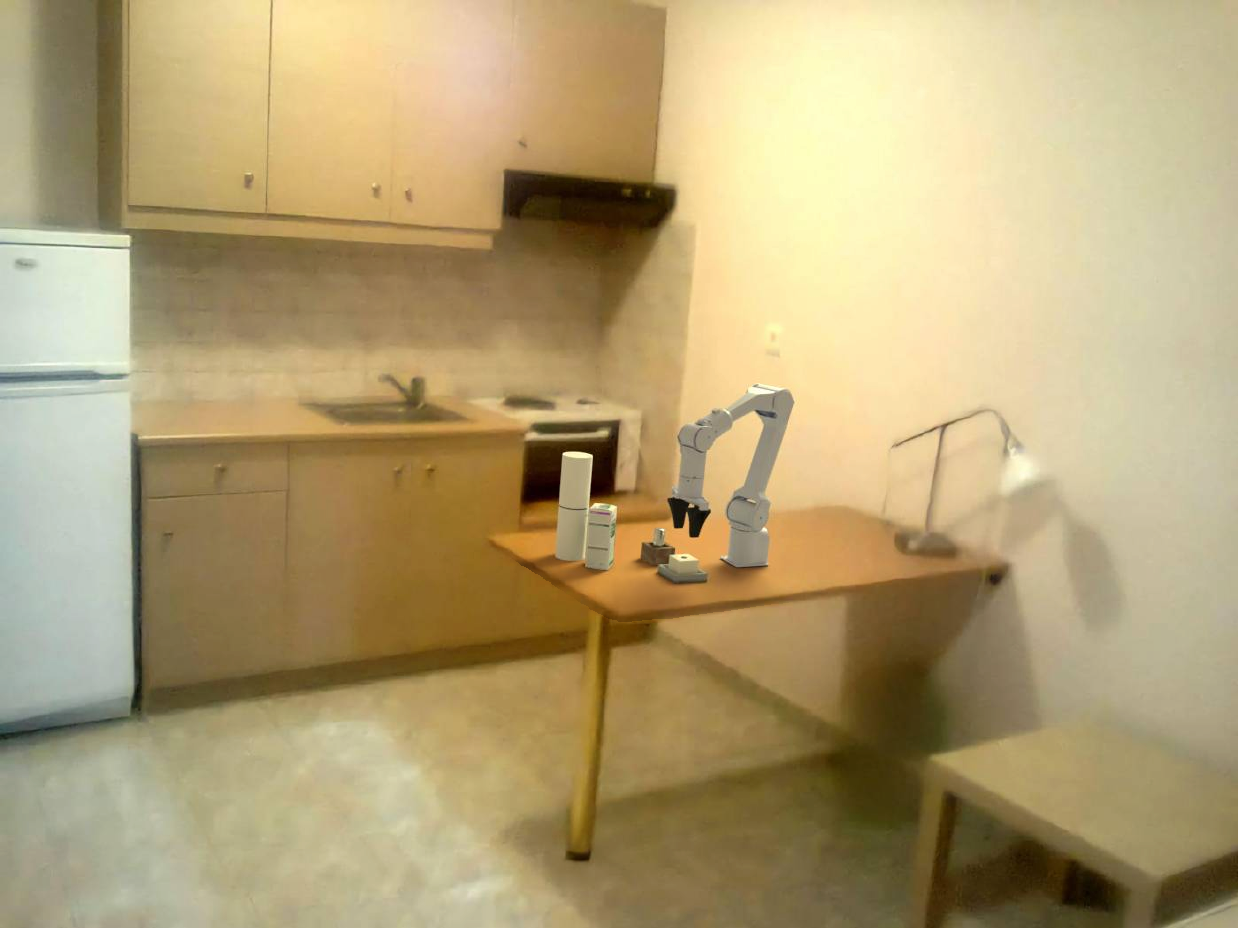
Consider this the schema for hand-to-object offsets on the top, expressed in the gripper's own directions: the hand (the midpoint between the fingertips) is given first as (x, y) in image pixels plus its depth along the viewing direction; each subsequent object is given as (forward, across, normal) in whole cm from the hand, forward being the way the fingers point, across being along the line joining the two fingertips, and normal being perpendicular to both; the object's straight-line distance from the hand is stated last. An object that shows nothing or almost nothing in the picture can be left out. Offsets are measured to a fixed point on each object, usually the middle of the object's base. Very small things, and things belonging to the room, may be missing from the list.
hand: (686, 532), depth 250 cm
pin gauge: (+10, -10, -2) cm, 14 cm away
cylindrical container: (+10, -17, -22) cm, 29 cm away
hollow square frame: (+10, -10, -2) cm, 14 cm away
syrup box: (+10, -9, -18) cm, 22 cm away
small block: (+9, +2, -1) cm, 10 cm away
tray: (+10, +2, -1) cm, 10 cm away
